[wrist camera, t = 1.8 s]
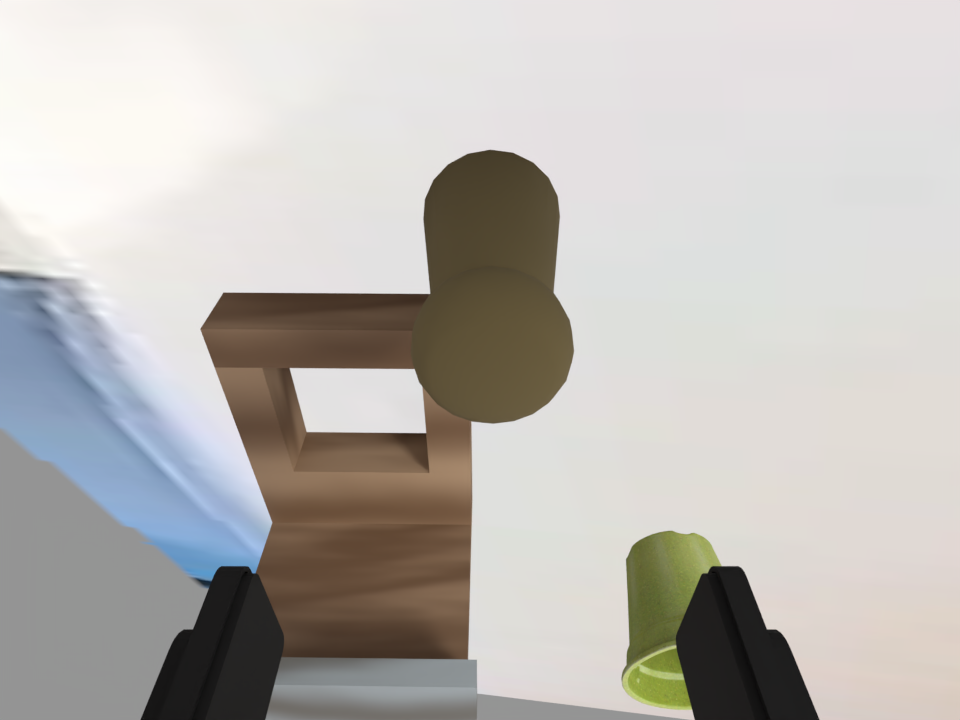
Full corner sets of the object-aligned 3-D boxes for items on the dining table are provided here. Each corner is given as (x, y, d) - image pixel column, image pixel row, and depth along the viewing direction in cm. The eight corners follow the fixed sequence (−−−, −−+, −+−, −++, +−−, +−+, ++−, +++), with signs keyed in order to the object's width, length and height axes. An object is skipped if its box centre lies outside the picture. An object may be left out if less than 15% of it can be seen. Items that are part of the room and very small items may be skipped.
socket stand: (213, 292, 29) (62, 521, 19) (480, 294, 29) (475, 525, 19) (285, 505, 40) (214, 725, 29) (480, 507, 39) (476, 728, 29)
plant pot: (576, 547, 42) (592, 674, 36) (696, 495, 38) (740, 626, 32) (644, 600, 47) (669, 721, 40) (758, 557, 43) (807, 684, 36)
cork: (428, 277, 28) (402, 452, 20) (416, 151, 24) (377, 300, 16) (556, 275, 28) (585, 450, 20) (564, 147, 24) (604, 296, 16)
